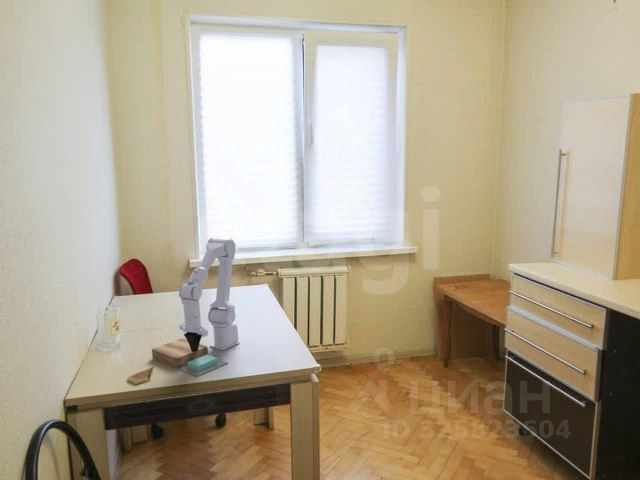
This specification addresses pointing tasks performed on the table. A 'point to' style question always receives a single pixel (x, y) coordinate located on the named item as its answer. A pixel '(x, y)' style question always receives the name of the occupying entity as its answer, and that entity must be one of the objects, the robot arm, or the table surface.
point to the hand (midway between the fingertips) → (194, 350)
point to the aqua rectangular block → (202, 362)
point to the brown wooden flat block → (177, 353)
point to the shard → (141, 376)
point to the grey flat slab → (198, 373)
